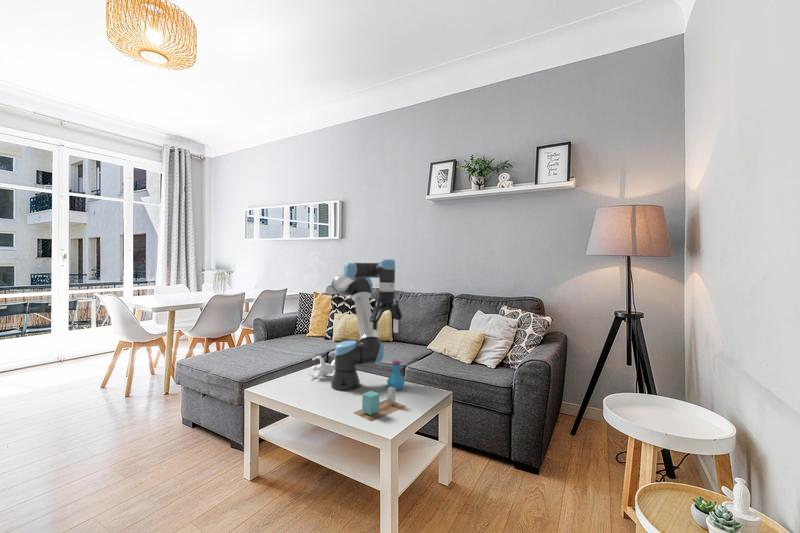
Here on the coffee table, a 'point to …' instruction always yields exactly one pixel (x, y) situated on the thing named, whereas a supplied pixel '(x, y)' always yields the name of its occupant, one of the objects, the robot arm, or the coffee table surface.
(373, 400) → the teal rectangular prism
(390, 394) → the post
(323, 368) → the white branched piece
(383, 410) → the board
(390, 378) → the perfume bottle
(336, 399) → the coffee table surface
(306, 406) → the coffee table surface
